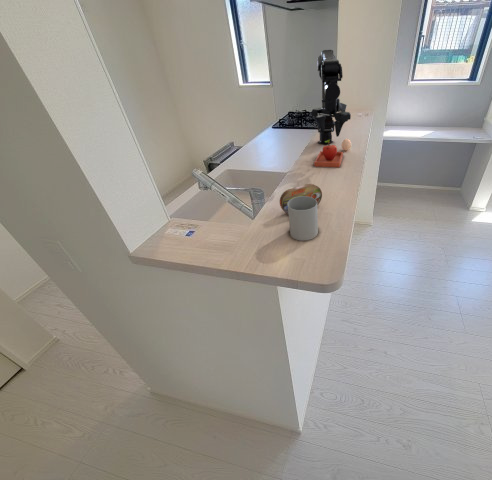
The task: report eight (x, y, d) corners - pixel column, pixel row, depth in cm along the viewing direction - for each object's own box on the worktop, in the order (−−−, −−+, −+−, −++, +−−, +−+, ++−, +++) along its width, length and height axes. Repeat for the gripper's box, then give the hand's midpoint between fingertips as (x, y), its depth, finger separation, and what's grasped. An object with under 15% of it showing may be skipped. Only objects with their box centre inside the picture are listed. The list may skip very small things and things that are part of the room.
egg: (342, 148, 142) (343, 137, 139) (352, 149, 141) (352, 137, 137) (340, 151, 139) (340, 139, 135) (349, 152, 137) (350, 140, 133)
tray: (320, 155, 135) (320, 151, 134) (343, 156, 133) (343, 151, 132) (314, 166, 124) (314, 161, 122) (339, 167, 121) (339, 162, 120)
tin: (283, 217, 88) (280, 194, 83) (279, 213, 90) (277, 190, 85) (322, 205, 93) (322, 183, 88) (318, 202, 96) (317, 180, 91)
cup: (318, 225, 83) (318, 196, 78) (317, 240, 77) (316, 210, 71) (292, 224, 84) (289, 196, 78) (288, 240, 78) (285, 210, 72)
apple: (322, 157, 131) (322, 136, 125) (336, 156, 131) (336, 135, 125) (322, 162, 125) (322, 141, 119) (337, 162, 125) (338, 140, 119)
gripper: (360, 95, 111) (357, 134, 120) (327, 92, 122) (327, 127, 132) (342, 99, 105) (340, 140, 114) (310, 95, 117) (311, 132, 126)
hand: (330, 134), depth 122 cm, fingers open, 9 cm apart
